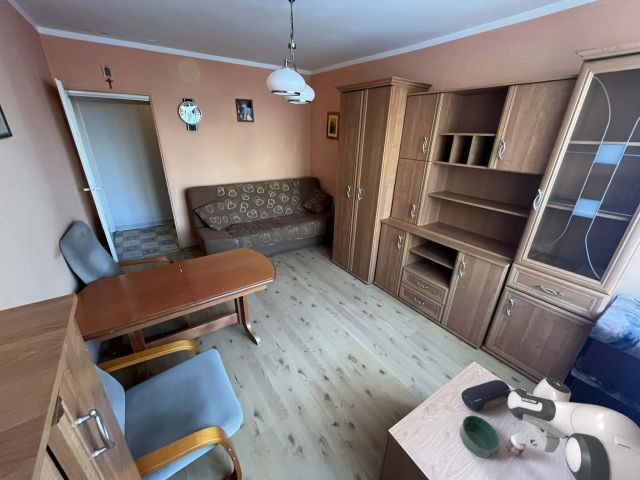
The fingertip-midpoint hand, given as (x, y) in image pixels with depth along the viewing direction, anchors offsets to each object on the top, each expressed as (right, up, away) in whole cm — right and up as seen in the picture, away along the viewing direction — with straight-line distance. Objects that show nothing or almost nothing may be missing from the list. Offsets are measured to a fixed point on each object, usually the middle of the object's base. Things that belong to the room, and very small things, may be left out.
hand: (525, 431), depth 108 cm
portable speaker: (-1, -4, +26) cm, 26 cm away
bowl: (-15, -11, +10) cm, 21 cm away
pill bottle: (-1, -14, +6) cm, 15 cm away
